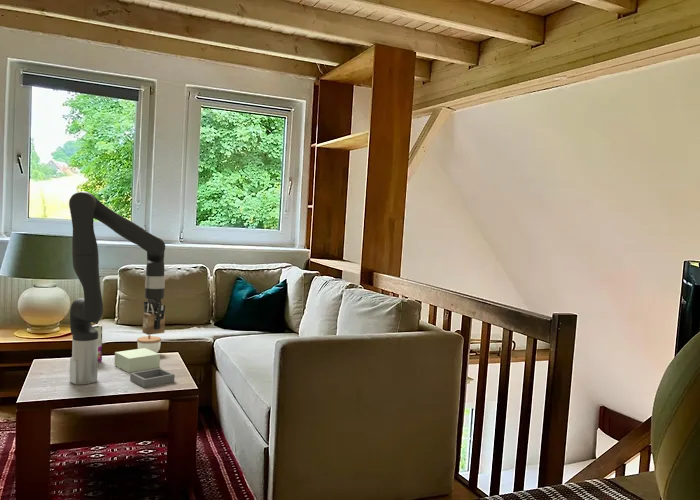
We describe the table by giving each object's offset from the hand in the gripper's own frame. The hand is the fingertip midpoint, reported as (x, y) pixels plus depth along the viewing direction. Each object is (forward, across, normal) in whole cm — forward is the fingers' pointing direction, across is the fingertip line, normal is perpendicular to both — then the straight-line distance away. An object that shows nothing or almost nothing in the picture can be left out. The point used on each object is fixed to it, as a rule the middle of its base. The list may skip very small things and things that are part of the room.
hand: (153, 327), depth 231 cm
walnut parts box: (+2, 0, 0) cm, 2 cm away
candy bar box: (+22, +41, +10) cm, 47 cm away
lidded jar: (+22, +39, -18) cm, 48 cm away
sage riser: (+21, +22, -4) cm, 31 cm away
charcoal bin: (+21, -2, +1) cm, 22 cm away
